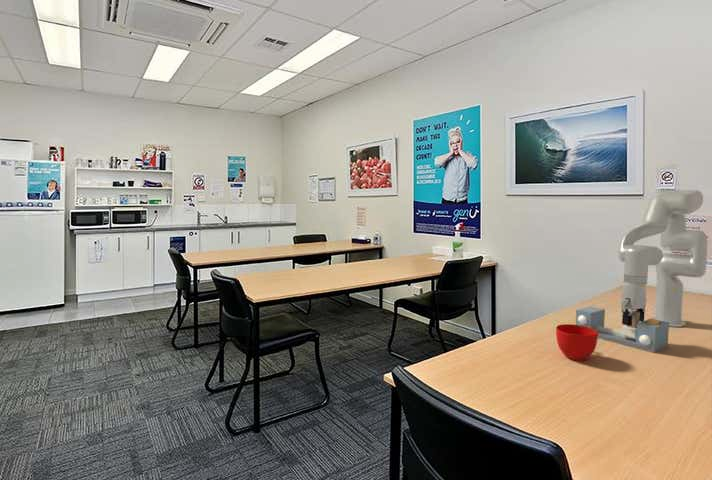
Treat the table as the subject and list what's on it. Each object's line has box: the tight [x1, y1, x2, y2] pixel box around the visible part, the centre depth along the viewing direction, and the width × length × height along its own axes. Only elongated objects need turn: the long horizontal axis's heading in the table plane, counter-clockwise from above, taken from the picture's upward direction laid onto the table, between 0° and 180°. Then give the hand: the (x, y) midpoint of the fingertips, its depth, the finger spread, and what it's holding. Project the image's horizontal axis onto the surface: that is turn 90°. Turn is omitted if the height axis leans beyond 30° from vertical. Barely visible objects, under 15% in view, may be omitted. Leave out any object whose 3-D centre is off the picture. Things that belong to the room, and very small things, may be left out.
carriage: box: [620, 310, 640, 340], centre depth 157 cm, size 7×5×10 cm
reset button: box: [647, 318, 659, 325], centre depth 151 cm, size 4×4×3 cm
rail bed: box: [575, 305, 670, 354], centre depth 161 cm, size 12×29×10 cm, turn 32°
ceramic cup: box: [555, 323, 599, 362], centre depth 145 cm, size 13×17×10 cm
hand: (633, 322), depth 157 cm, fingers open, 9 cm apart
